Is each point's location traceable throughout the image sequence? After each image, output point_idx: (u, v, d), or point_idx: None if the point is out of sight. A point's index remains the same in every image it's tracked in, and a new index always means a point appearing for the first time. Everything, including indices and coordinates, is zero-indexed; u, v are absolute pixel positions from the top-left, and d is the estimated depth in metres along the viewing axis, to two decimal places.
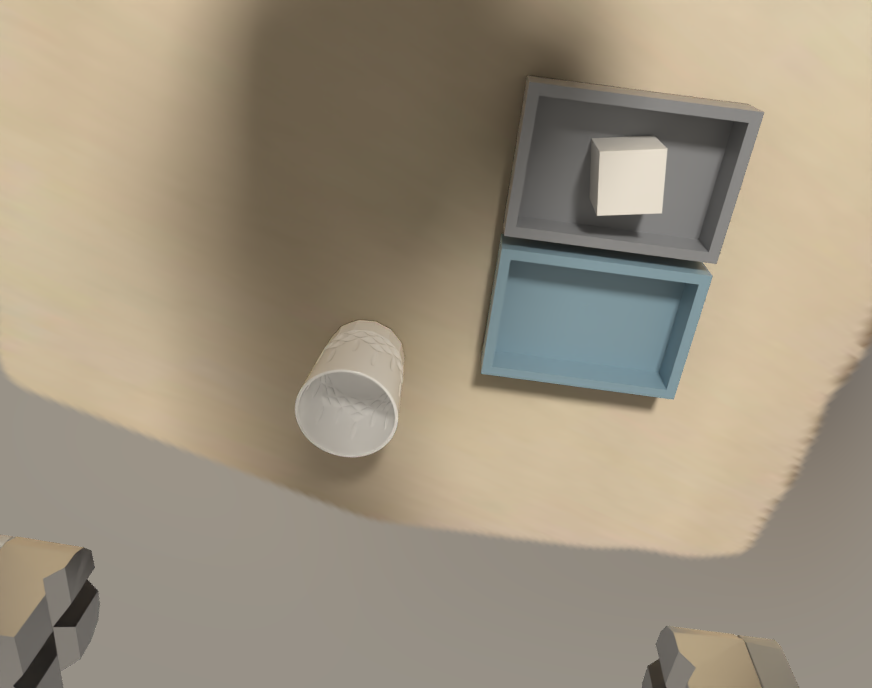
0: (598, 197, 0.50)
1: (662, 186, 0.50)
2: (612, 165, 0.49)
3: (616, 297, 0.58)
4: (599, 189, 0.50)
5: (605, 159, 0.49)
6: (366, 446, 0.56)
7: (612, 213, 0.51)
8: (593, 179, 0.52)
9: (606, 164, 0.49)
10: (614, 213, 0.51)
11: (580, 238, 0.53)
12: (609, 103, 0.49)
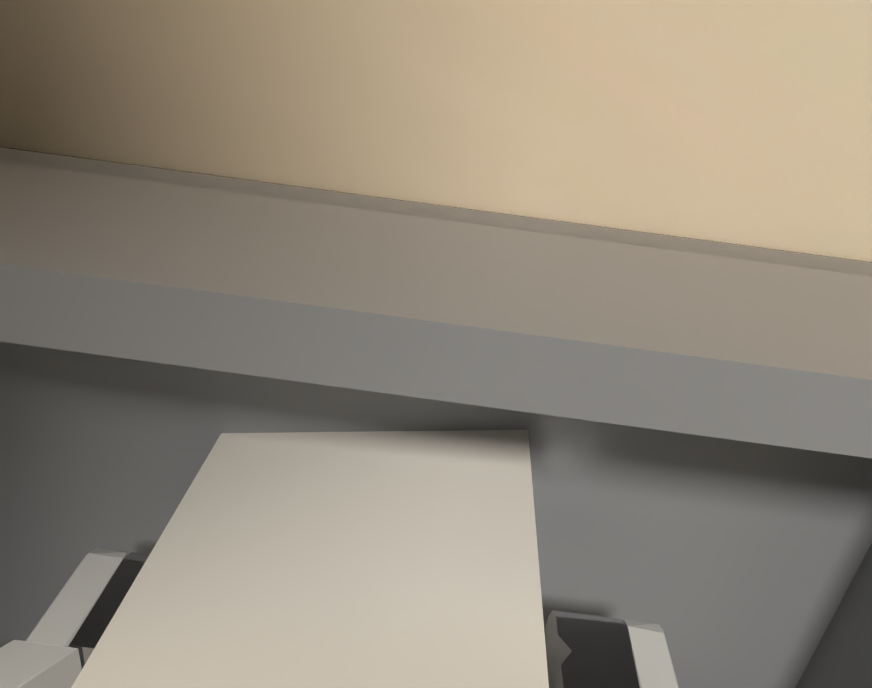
0: None
1: None
2: None
3: None
4: None
5: None
6: None
7: None
8: None
9: None
10: None
11: None
12: (133, 352, 0.07)
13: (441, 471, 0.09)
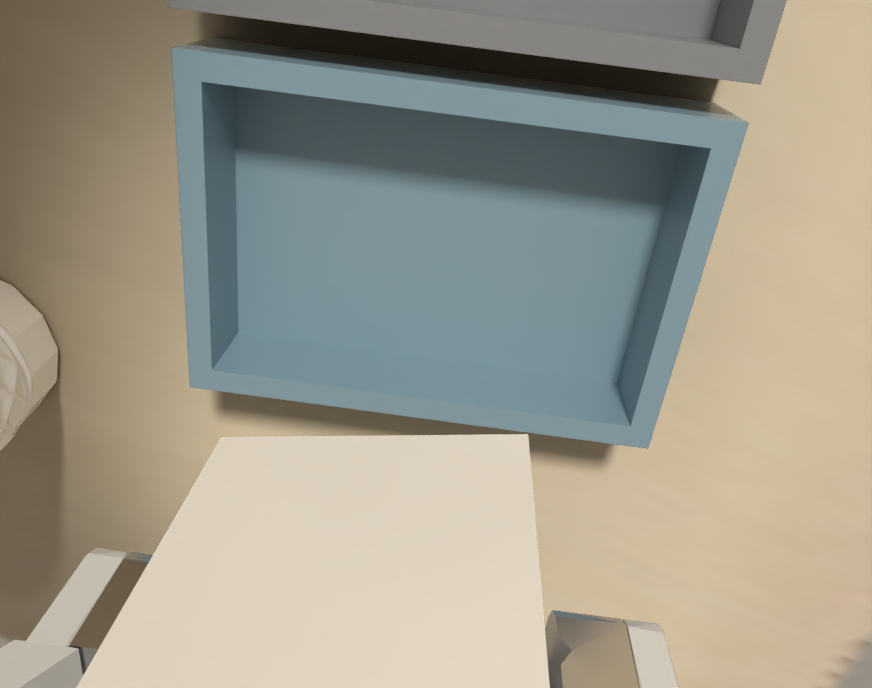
0: None
1: None
2: None
3: (508, 203, 0.24)
4: None
5: None
6: None
7: None
8: None
9: None
10: None
11: (379, 11, 0.19)
12: None
13: (442, 476, 0.09)
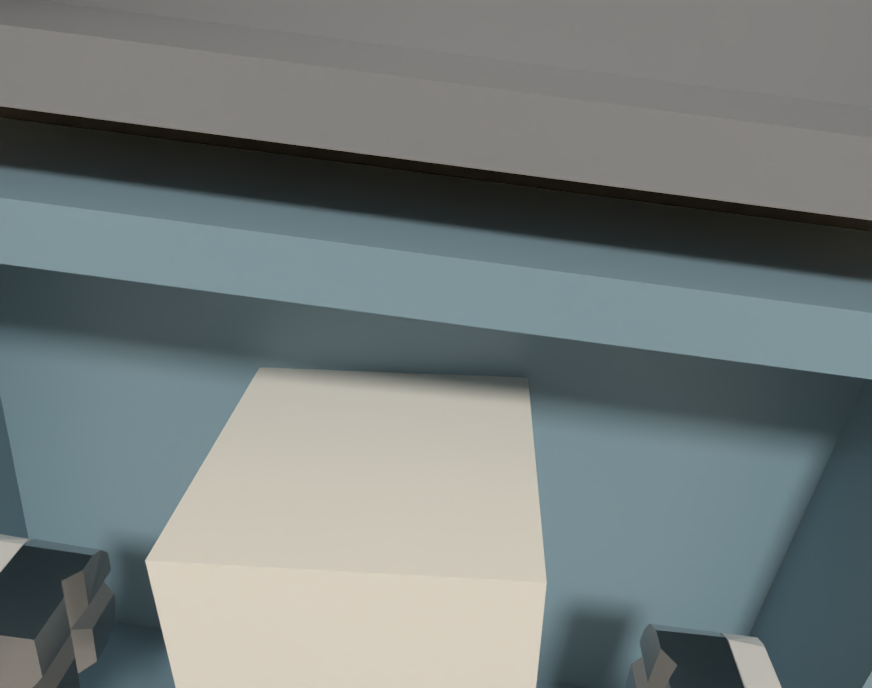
0: None
1: None
2: (234, 627, 0.08)
3: None
4: None
5: (187, 597, 0.08)
6: None
7: None
8: None
9: (199, 619, 0.08)
10: None
11: (198, 74, 0.07)
12: None
13: (454, 405, 0.11)
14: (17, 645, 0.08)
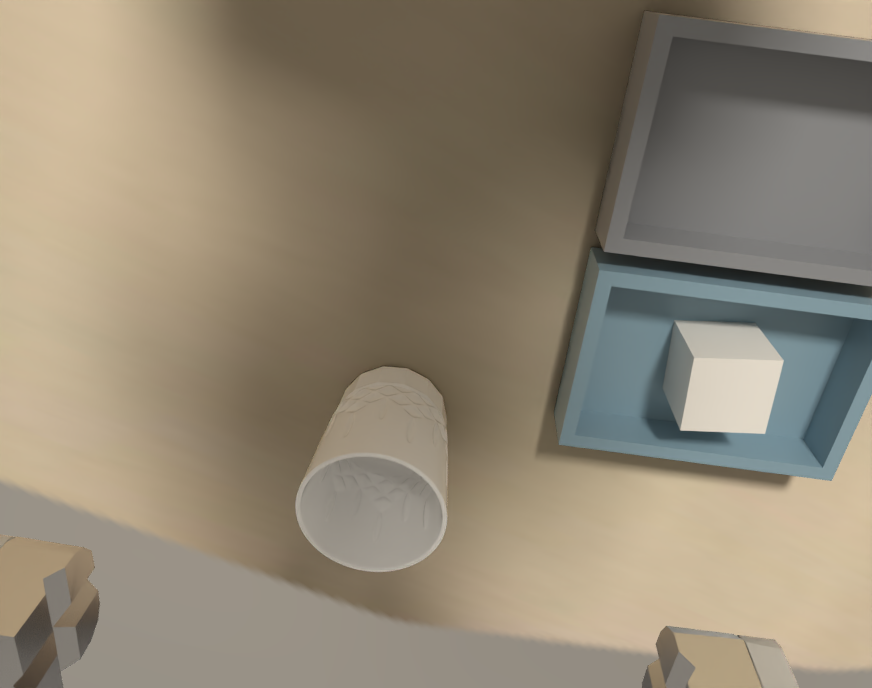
0: (684, 409, 0.38)
1: (770, 403, 0.38)
2: (708, 374, 0.37)
3: None
4: (687, 400, 0.38)
5: (700, 367, 0.37)
6: (398, 555, 0.39)
7: (700, 429, 0.39)
8: (674, 375, 0.40)
9: (700, 373, 0.37)
10: (703, 429, 0.39)
11: (718, 255, 0.36)
12: (782, 48, 0.31)
13: (739, 329, 0.40)
14: None
